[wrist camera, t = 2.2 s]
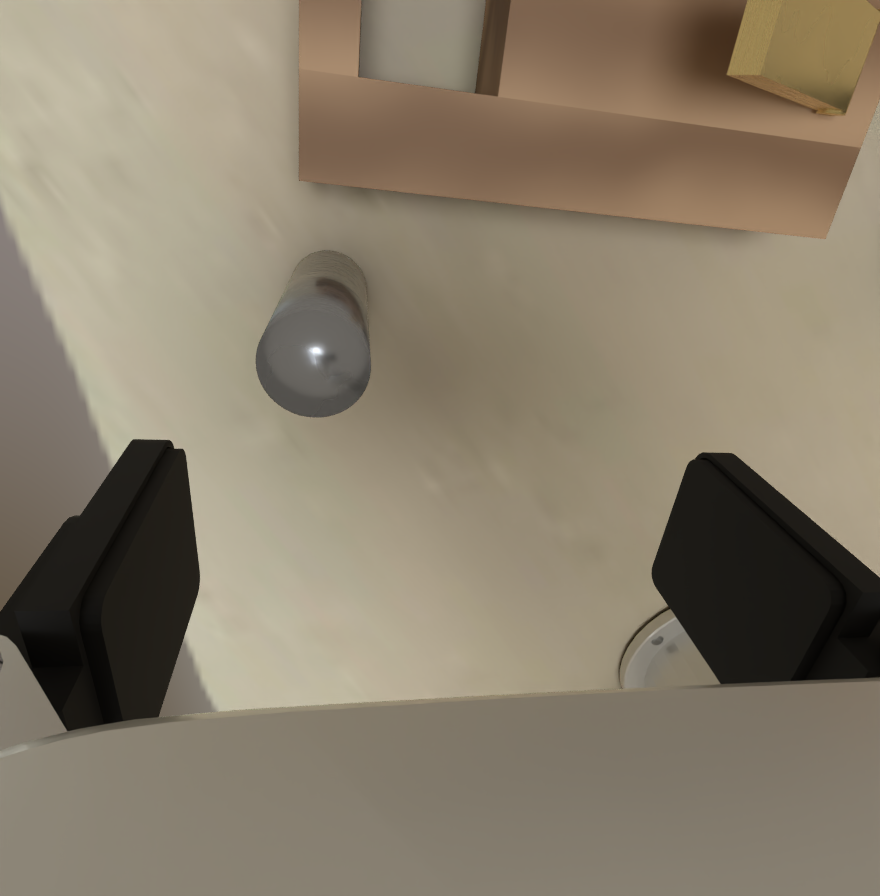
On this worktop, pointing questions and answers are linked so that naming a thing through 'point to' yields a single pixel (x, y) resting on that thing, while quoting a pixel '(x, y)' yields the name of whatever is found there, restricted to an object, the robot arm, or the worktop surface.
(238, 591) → the worktop surface
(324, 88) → the walnut block
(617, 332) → the worktop surface
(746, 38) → the bar
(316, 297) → the steel pin
